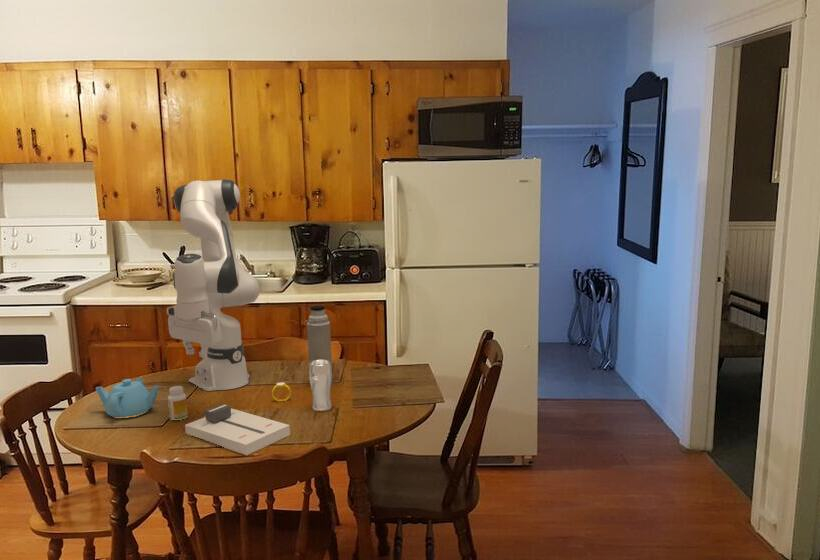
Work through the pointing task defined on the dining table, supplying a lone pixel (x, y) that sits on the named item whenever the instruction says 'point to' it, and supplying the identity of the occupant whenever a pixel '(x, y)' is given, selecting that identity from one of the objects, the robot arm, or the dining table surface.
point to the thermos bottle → (319, 336)
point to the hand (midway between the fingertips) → (196, 355)
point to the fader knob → (218, 413)
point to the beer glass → (320, 384)
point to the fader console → (239, 431)
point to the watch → (281, 386)
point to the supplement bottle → (177, 403)
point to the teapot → (128, 398)
